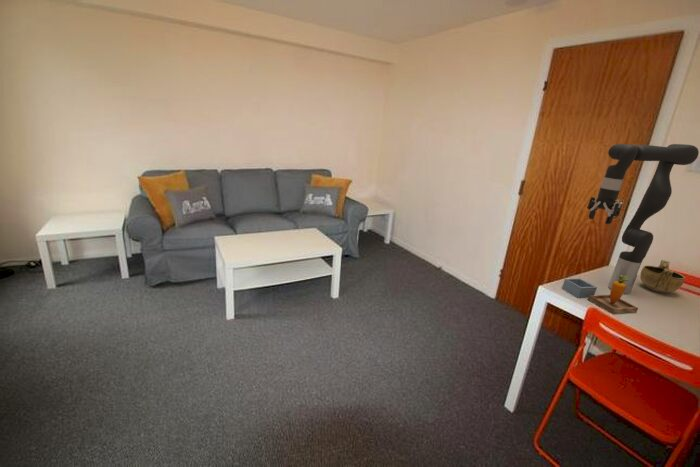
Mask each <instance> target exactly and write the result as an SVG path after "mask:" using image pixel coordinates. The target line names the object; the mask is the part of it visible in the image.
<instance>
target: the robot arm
mask: <svg viewBox="0 0 700 467" xmlns="http://www.w3.org/2000/svg"><path fill="white" fill-rule="evenodd" d="M607 152H608V153H607V154H608V156H609V157H610V158H611V160H617V163H615V164H611V165H608V167H607V169H606V171H605V174H604V178H603V179H602V181H601V185H600V187H599V191H598V193H597V197H594V196H593V197H590V198H589V201H588V205H587V206H586V209H587V210H589V214H588V219H589V220H594V218H595V215H596V213H597V210H601V209H602V210H603V211H605V212H606V213H607V217H606V220H605V222H604V224H606V225H610V224H612V221H613V219H614V218H615V217H619V216H620V213H621V210H622V206H623V204H622V203H617V202H616V200H617V199H618V197H619V194H620V192H621V189H622V187H623V181H624V178H625V176H626V172H627V170H628V169H629V168H630V166H631V165H632V164H633V162H634V161H637V162H658V164H657V167H656V169H655V171H654V172H655V173H654V174H653V176H652V179H651V181H650V183H649V185H648V186H647V188H646V191H645V193H644V195H643V196H642V200H641V201H640V204H639V205H638V208H637V210H636V211H635V213H634V215H633V216H632V219H630V222H629V223H628V225H626V226H627V227H626V228H625V229H624V231H623V233H622V236H621V242H622V243H623V244H625V245H627V246H630V247H632V248H633V250H631V251H626V250H625V251H621V252H620V254H619V255H618V259H617V261H616V263H615V266H614V269H613V272H612V275H611V277H610V280H609V282H608V284H607V287H608V289H610V290H611V287H612V284H613V282H614V281H619V276H620V275H622V276H623V277H622V279H623V278H624V276H627V277H626V278H625V279H629V280H627V281H624V282H623V283H625V285H626V289H625V291H624V293H623V295H624V294H626V295H627V294H628V295H629V294H630V293H631V292H632V290H633V288H634V285H635V282H636V280H637V277H638V273H639V270H640V268H641V265H642V264H643V261H644V259H645V258H646V257H647V254H648V252H649V250H650V248H651V245H652V244H653V242H654V235H653V233H652V232H651V231H647V230H644V229H642V226H643V225H644V223H645V222H646V220H648V219H649V218H651V217H653V216H655V214H657V213H659V212H660V211H661V210H663V209H664V208H665V207H666V205H667V203H668V202H669V200H670V198H671V196H672V184H671V178H670V175H671V171H672V169H673V167H674V166H676V165H677V166H687V165H691V164H692V163H693V164H694V162H696V160H697V158H698V157H699V153H700V152H699V149H698V147H697V146H695V145H691V144H682V143H672V144H669V145H667V146H659V145H649V144H629V143H628V144H625V143H616V144H614V145H612V146H611V147H610V148H609V149H608V151H607ZM625 279H624V280H625Z"/></svg>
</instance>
